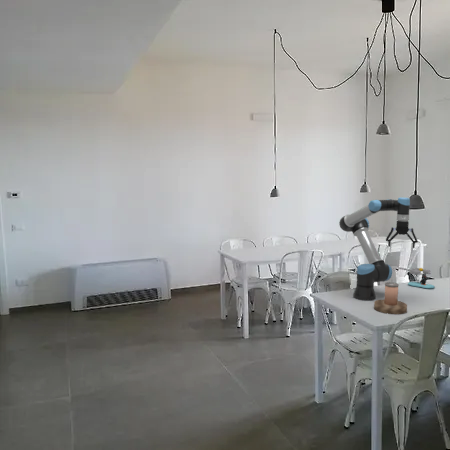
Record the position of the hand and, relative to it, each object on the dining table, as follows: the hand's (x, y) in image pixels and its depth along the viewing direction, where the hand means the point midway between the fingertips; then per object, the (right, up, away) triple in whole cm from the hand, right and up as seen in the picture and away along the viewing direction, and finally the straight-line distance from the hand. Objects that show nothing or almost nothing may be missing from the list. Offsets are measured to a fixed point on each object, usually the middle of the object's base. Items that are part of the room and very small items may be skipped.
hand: (400, 252), depth 324 cm
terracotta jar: (-12, -32, -14) cm, 37 cm away
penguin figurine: (+33, -30, +49) cm, 67 cm away
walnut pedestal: (-12, -36, -13) cm, 40 cm away
